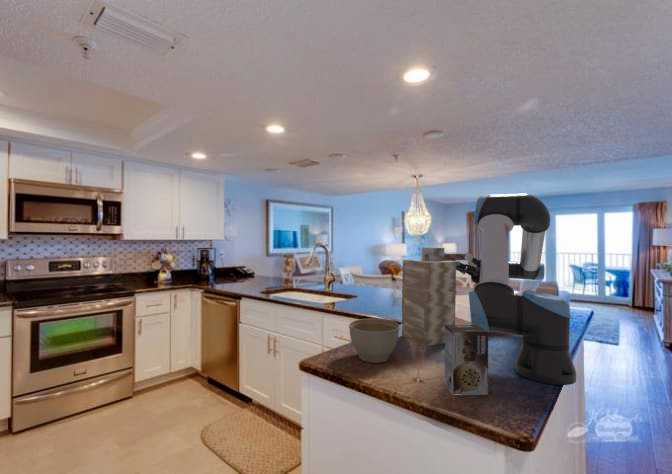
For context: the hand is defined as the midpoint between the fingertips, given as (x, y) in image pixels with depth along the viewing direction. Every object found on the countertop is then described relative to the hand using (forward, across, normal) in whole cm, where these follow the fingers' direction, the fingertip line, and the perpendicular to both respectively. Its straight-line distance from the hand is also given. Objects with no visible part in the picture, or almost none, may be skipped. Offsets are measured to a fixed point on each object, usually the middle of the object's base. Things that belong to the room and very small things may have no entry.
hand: (452, 254), depth 139 cm
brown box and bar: (+2, 0, -4) cm, 4 cm away
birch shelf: (-6, 0, -34) cm, 34 cm away
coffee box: (+14, -38, -46) cm, 61 cm away
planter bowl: (+21, -9, -50) cm, 55 cm away
